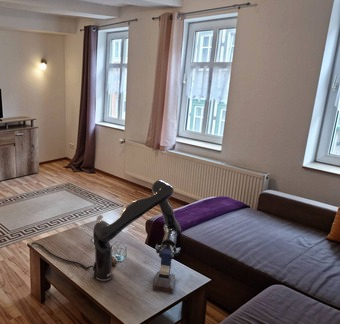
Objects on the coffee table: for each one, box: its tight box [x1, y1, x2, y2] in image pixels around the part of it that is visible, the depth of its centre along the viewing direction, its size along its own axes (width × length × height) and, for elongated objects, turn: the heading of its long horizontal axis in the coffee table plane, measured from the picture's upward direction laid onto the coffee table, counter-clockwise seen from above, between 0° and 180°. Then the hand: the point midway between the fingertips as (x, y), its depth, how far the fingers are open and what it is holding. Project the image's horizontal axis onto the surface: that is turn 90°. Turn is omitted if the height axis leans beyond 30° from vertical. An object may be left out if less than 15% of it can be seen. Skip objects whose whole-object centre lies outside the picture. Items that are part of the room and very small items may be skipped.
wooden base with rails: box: [152, 270, 176, 294], centre depth 181 cm, size 10×13×4 cm
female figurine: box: [88, 213, 104, 244], centre depth 222 cm, size 11×16×20 cm
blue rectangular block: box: [159, 249, 172, 279], centre depth 178 cm, size 11×5×11 cm, turn 161°
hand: (165, 257), depth 177 cm, fingers closed on blue rectangular block, 5 cm apart
